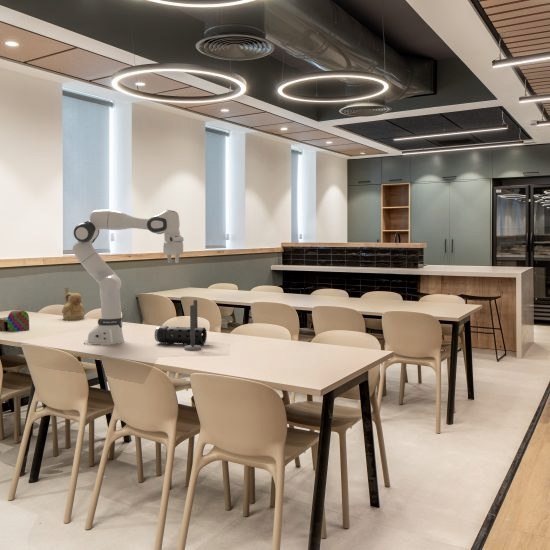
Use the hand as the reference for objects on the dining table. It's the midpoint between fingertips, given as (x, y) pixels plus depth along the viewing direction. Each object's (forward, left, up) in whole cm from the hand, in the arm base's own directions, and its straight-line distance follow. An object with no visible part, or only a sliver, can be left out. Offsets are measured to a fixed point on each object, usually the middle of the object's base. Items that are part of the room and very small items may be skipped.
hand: (173, 262), depth 324 cm
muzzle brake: (+4, -7, -46) cm, 47 cm away
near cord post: (+12, -23, -46) cm, 53 cm away
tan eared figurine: (-84, +105, -46) cm, 143 cm away
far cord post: (+12, +7, -46) cm, 48 cm away
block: (-113, +62, -46) cm, 137 cm away
